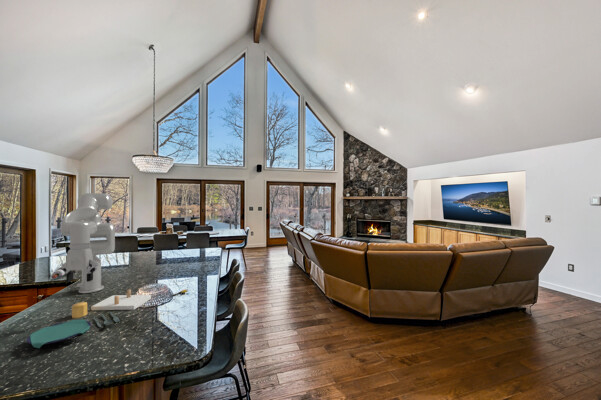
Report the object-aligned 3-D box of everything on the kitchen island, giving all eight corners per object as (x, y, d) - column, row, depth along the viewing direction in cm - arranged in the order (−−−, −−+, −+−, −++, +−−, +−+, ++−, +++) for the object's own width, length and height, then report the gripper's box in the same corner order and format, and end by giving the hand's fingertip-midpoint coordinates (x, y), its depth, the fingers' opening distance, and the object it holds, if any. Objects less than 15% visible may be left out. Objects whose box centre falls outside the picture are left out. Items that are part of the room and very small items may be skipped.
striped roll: (55, 267, 183) (65, 277, 186) (76, 255, 214) (85, 264, 217) (40, 276, 180) (51, 286, 183) (64, 263, 212) (73, 272, 214)
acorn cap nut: (68, 318, 123) (68, 306, 123) (78, 313, 129) (78, 302, 129) (80, 317, 124) (80, 306, 124) (89, 312, 129) (90, 301, 129)
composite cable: (172, 297, 151) (172, 293, 151) (169, 295, 154) (169, 291, 155) (189, 293, 158) (189, 289, 158) (186, 291, 161) (186, 287, 161)
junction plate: (91, 310, 132) (91, 298, 132) (112, 298, 148) (112, 288, 148) (134, 309, 133) (134, 298, 133) (151, 298, 149) (151, 287, 149)
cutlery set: (25, 336, 107) (25, 331, 107) (111, 313, 130) (111, 308, 130) (27, 355, 94) (27, 348, 94) (123, 325, 117) (123, 320, 117)
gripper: (55, 248, 123) (54, 283, 122) (92, 247, 123) (91, 283, 123) (69, 245, 130) (68, 279, 130) (103, 245, 131) (103, 278, 130)
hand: (79, 281), depth 126 cm, fingers open, 9 cm apart
